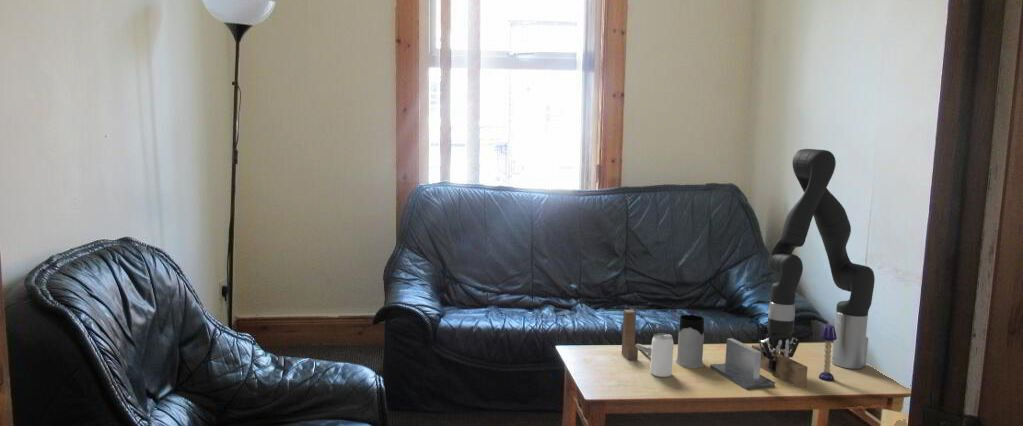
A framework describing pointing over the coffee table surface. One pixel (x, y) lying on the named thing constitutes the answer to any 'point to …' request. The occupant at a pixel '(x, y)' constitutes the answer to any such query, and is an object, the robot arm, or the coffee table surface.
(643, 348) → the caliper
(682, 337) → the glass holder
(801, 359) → the coffee table surface
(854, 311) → the robot arm
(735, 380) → the ridge stand
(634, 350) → the wooden block
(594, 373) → the coffee table surface
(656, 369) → the can
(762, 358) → the brown wooden plank
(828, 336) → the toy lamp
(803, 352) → the coffee table surface
